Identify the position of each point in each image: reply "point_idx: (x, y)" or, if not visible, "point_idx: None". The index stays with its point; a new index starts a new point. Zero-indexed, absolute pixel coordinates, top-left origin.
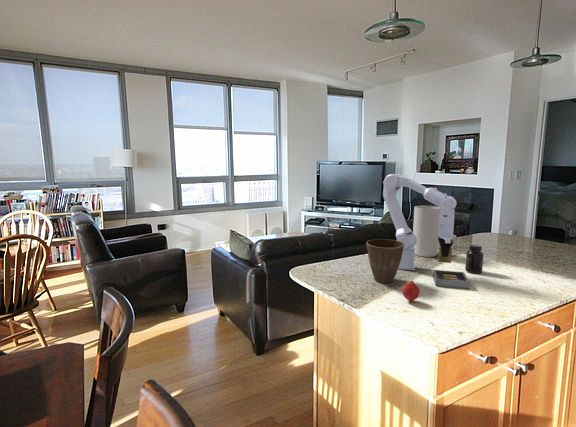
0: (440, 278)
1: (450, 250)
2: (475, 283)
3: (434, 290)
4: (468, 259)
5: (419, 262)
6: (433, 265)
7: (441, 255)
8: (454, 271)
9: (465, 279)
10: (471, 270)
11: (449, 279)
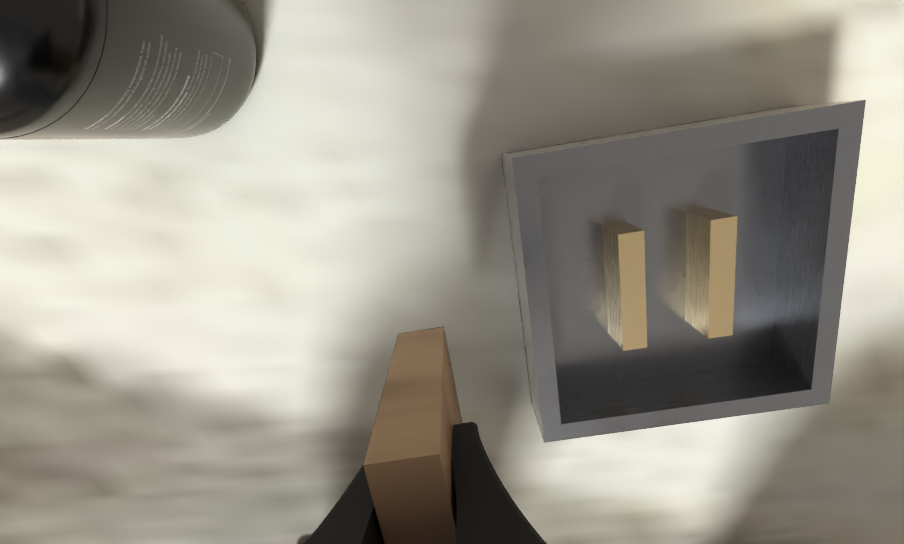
0: (607, 348)
1: (445, 463)
2: (597, 34)
3: (882, 365)
4: (141, 102)
5: (170, 521)
6: (190, 419)
7: None
8: (523, 256)
9: (764, 139)
10: (244, 67)
11: (825, 293)
